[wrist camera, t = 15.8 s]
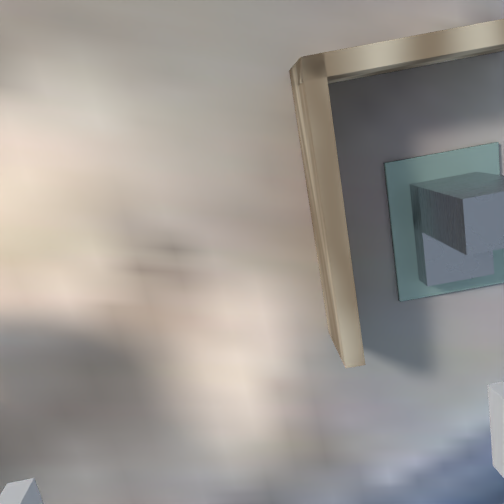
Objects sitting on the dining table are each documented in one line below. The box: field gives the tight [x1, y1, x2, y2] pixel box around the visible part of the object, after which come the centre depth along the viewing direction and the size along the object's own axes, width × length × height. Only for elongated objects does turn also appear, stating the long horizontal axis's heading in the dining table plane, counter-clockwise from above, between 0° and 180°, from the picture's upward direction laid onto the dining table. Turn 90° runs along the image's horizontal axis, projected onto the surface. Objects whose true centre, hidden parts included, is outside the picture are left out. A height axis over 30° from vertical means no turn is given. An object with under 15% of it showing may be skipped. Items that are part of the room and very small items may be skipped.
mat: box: [384, 142, 504, 302], centre depth 43 cm, size 10×13×1 cm
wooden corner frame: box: [289, 19, 504, 368], centre depth 39 cm, size 18×24×7 cm
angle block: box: [409, 172, 504, 287], centre depth 38 cm, size 9×6×10 cm, turn 10°
